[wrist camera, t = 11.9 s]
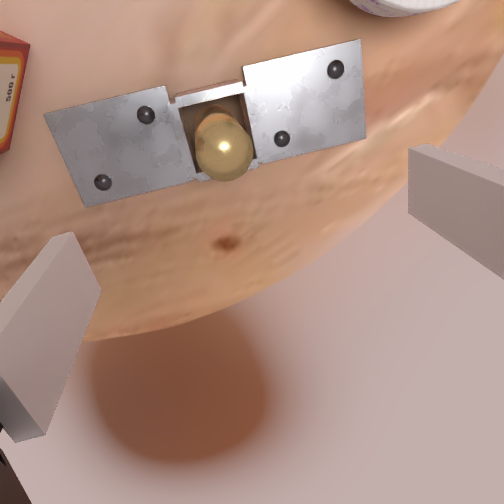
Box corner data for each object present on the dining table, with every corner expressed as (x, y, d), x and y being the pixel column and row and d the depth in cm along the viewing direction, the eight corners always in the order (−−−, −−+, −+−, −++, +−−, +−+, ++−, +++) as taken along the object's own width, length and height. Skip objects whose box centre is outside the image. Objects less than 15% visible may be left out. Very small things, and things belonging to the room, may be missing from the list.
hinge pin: (200, 151, 37) (204, 186, 26) (189, 109, 35) (188, 130, 25) (239, 142, 37) (258, 173, 27) (230, 100, 35) (246, 116, 25)
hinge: (87, 204, 38) (74, 222, 33) (47, 112, 34) (25, 120, 29) (362, 136, 39) (384, 146, 34) (356, 39, 34) (380, 36, 30)
